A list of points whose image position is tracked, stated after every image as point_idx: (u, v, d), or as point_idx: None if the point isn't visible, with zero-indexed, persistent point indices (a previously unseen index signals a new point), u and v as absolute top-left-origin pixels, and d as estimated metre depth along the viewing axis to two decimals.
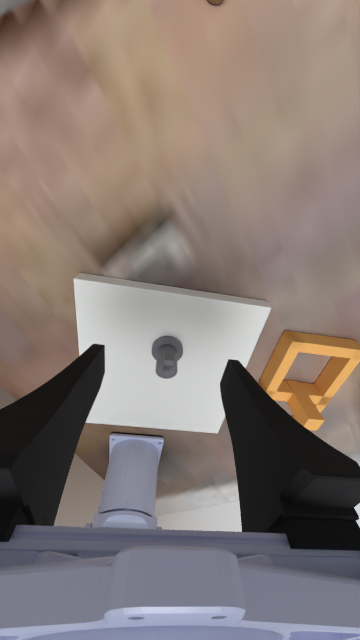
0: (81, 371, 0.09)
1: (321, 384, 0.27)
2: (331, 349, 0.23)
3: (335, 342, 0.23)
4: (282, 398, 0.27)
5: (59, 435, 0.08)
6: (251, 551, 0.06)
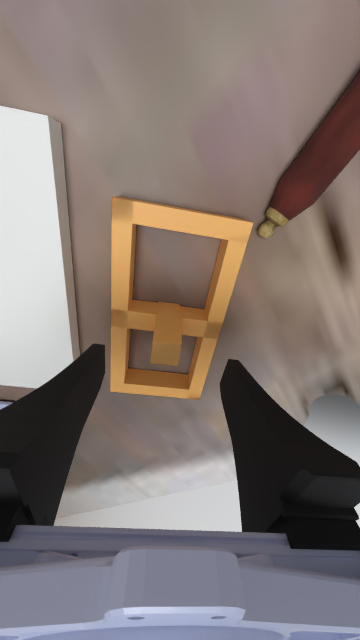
0: (81, 371, 0.09)
1: (208, 304, 0.17)
2: (189, 218, 0.13)
3: (202, 212, 0.14)
4: (143, 326, 0.17)
5: (59, 435, 0.08)
6: (251, 551, 0.06)
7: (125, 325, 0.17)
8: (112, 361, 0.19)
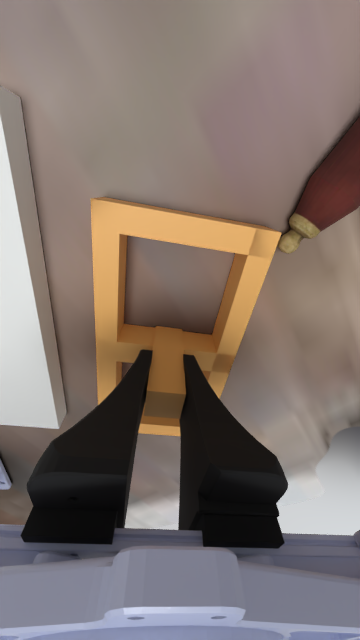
0: (142, 377, 0.10)
1: (217, 331, 0.14)
2: (196, 226, 0.10)
3: (212, 218, 0.10)
4: None
5: (135, 440, 0.08)
6: (251, 551, 0.06)
7: (114, 358, 0.13)
8: (99, 398, 0.15)
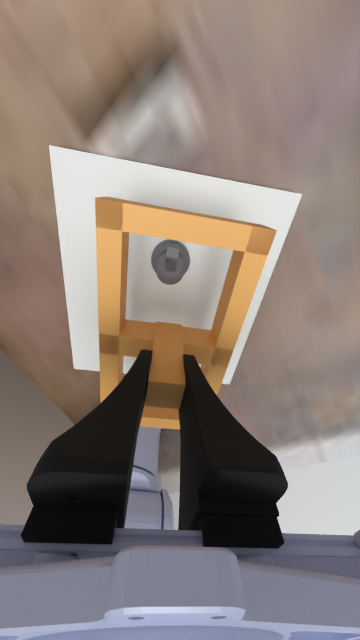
0: (142, 377, 0.10)
1: (216, 326, 0.14)
2: (195, 224, 0.10)
3: (211, 217, 0.11)
4: (137, 353, 0.14)
5: (135, 440, 0.08)
6: (251, 551, 0.06)
7: (116, 352, 0.14)
8: (102, 391, 0.16)
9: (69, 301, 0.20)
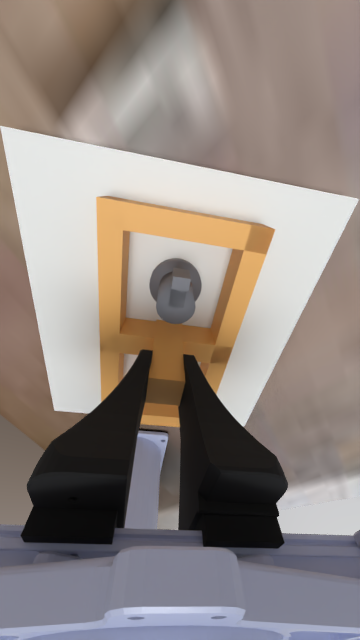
0: (143, 377, 0.10)
1: (215, 324, 0.15)
2: (195, 223, 0.10)
3: (210, 216, 0.11)
4: (138, 350, 0.14)
5: (135, 440, 0.08)
6: (251, 551, 0.06)
7: (117, 350, 0.14)
8: (102, 389, 0.16)
9: (43, 334, 0.16)
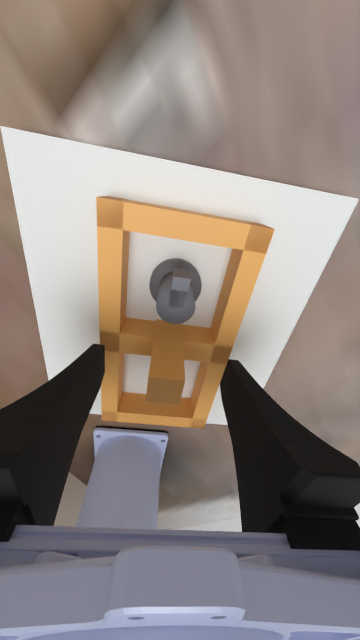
0: (81, 371, 0.09)
1: (215, 324, 0.15)
2: (194, 223, 0.10)
3: (210, 215, 0.11)
4: (138, 350, 0.14)
5: (59, 435, 0.08)
6: (251, 551, 0.06)
7: (117, 349, 0.14)
8: (102, 388, 0.16)
9: (43, 334, 0.16)
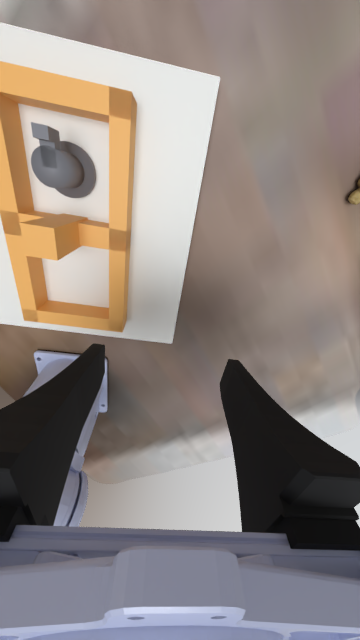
0: (81, 371, 0.09)
1: None
2: (57, 83, 0.12)
3: None
4: None
5: (59, 435, 0.08)
6: (251, 551, 0.06)
7: (20, 232, 0.15)
8: (16, 280, 0.17)
9: None
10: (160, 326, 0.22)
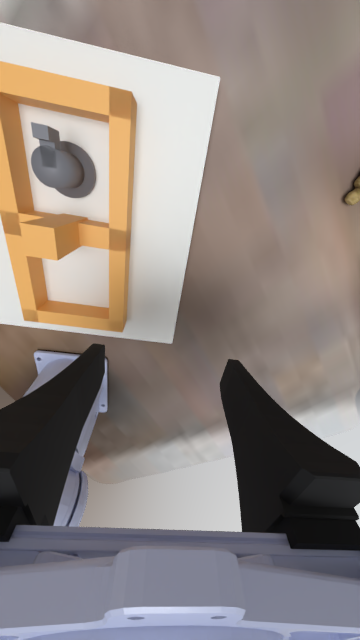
0: (81, 371, 0.09)
1: None
2: (57, 83, 0.12)
3: None
4: None
5: (59, 435, 0.08)
6: (251, 551, 0.06)
7: (20, 232, 0.15)
8: (16, 280, 0.17)
9: None
10: (160, 326, 0.22)
